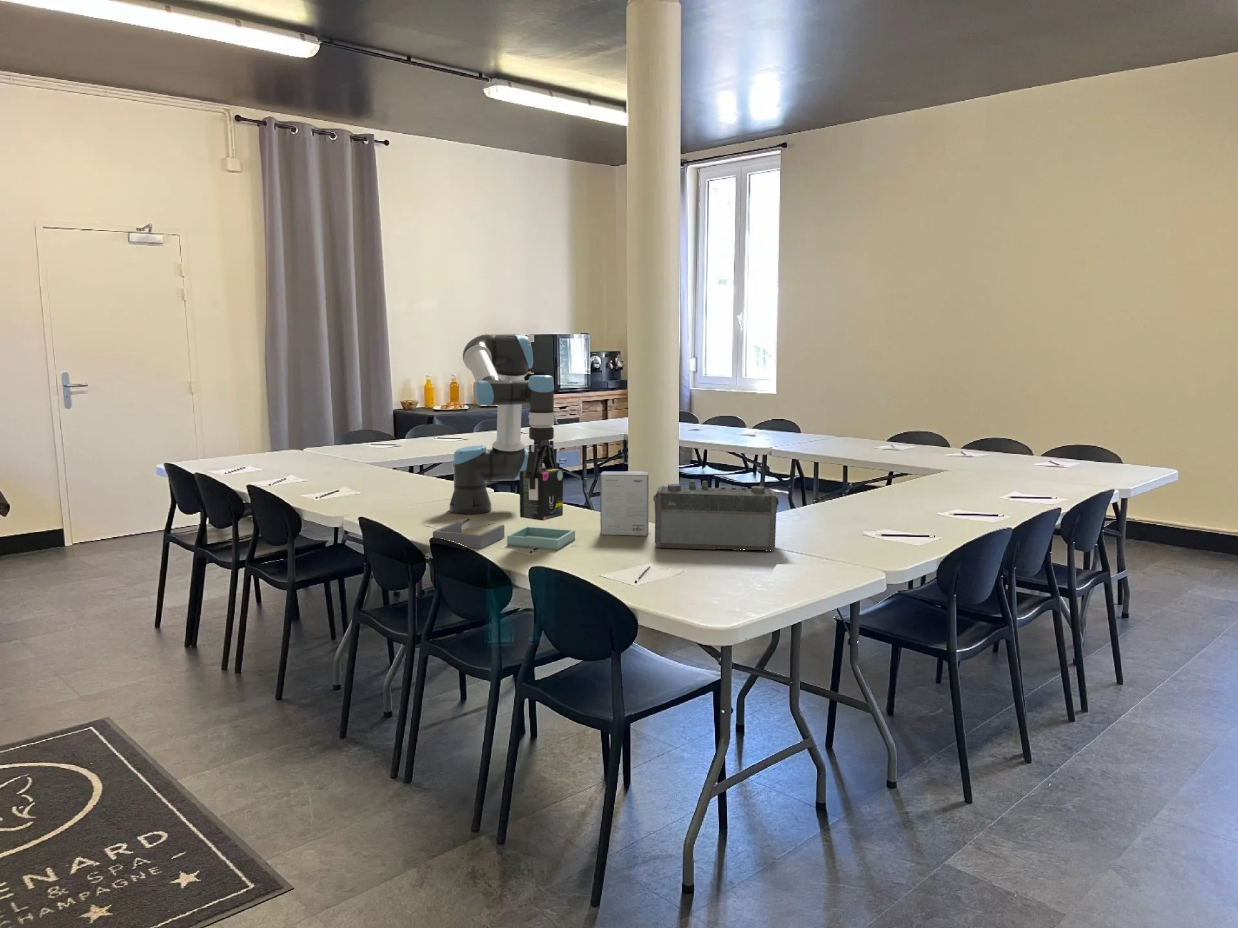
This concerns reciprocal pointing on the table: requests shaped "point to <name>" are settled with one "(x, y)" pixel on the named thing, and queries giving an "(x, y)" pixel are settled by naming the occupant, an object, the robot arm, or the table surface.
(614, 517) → the hard drive box
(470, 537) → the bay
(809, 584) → the table surface
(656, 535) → the radio
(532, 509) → the tampon box
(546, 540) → the tray
